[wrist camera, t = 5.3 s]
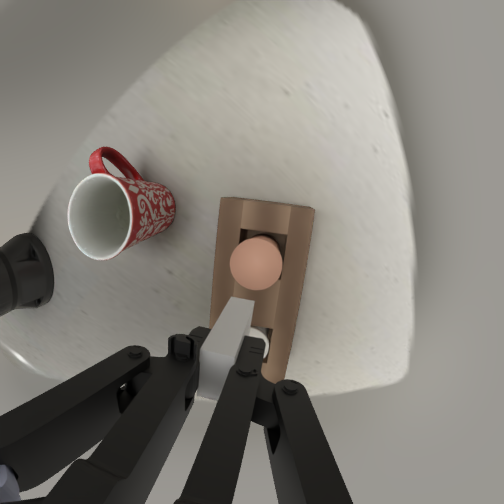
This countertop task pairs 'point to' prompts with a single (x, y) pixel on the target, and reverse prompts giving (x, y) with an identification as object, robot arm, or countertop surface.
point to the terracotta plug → (256, 262)
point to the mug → (116, 208)
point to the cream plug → (260, 335)
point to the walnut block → (288, 284)
